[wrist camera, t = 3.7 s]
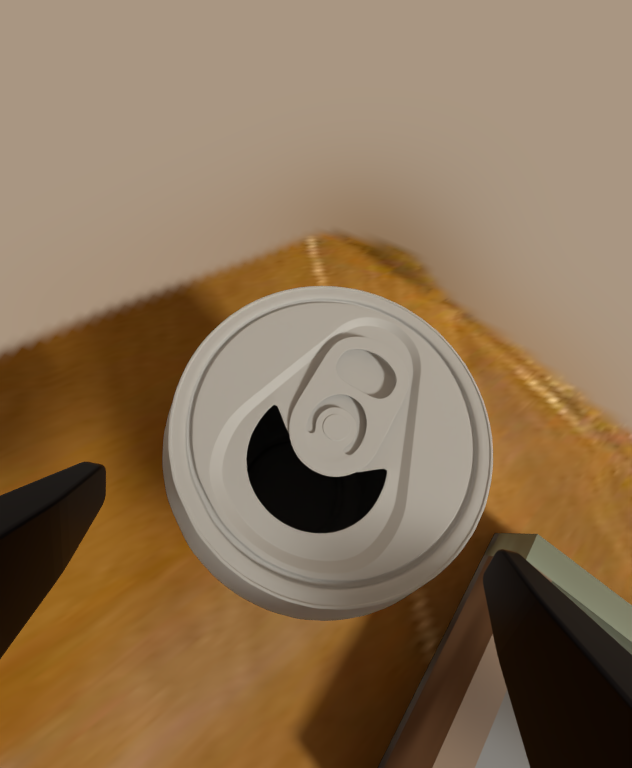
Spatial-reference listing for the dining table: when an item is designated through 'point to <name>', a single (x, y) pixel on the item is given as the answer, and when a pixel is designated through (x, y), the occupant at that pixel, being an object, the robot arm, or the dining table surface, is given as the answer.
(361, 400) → the beverage can
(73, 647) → the dining table surface
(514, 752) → the tray
